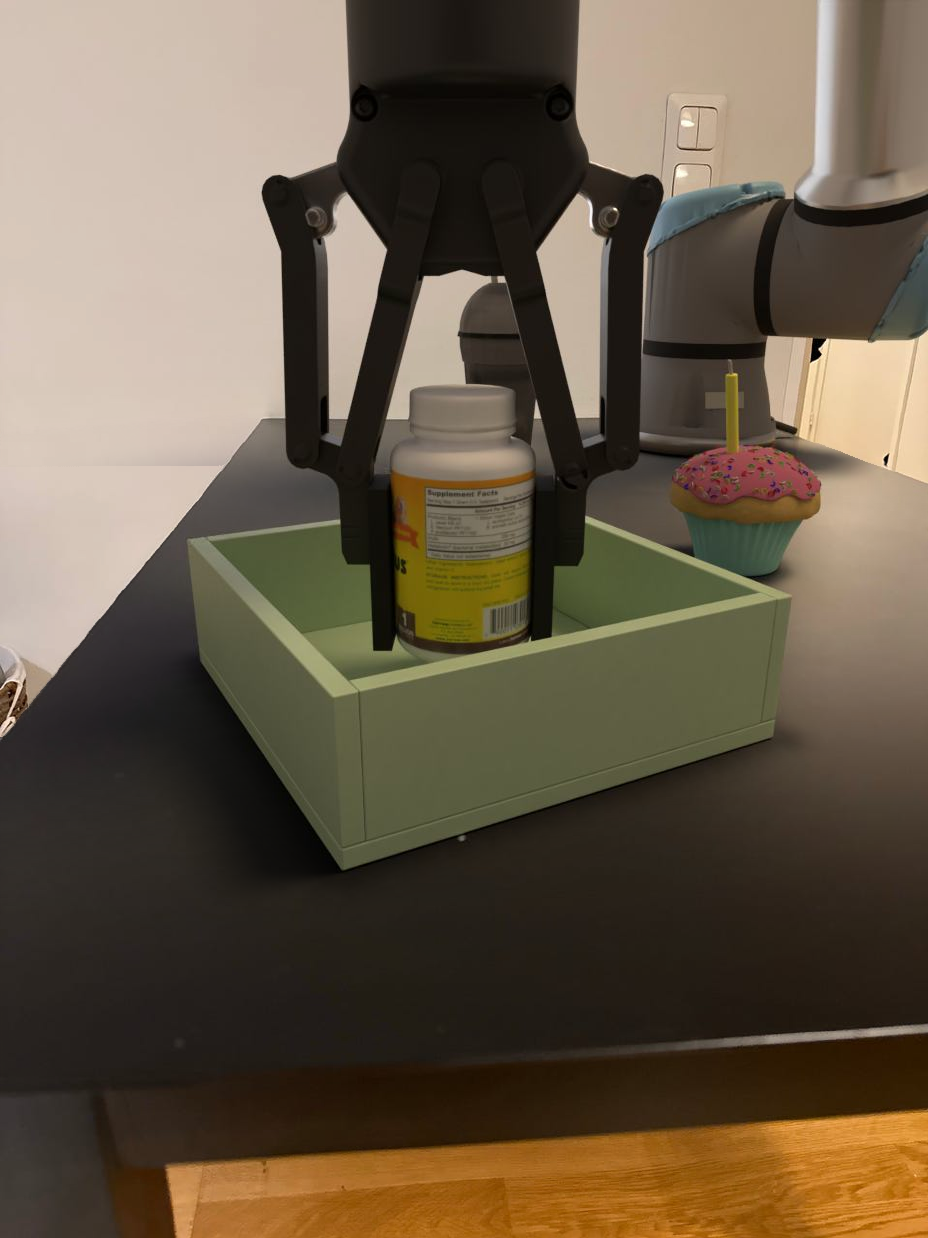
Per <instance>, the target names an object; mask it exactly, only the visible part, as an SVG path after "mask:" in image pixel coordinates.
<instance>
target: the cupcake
mask: <svg viewBox="0 0 928 1238" xmlns="http://www.w3.org/2000/svg"><path fill="white" fill-rule="evenodd" d="M728 368H729V374H727V375H726V376H725V380H726V437H727V447H725V448H721V447H719V446H716V447H715V449H714V450H710V451H707V452H701V453H699V454H698V455H694V456H690V457H688V460H687V461H685V462H682V463H681V465H680V466H679V467H678V468H677V469H675V470H674V472H673V475H672V477H671V484H670V489H669V502H670V504H671V505H672V506H674V507H675V508H676V509H677V511H679V512H680V513H682V515H683V516H684V519H685V522H686V525H687V528H688V532H689V536H690V540H691V546H692V549H693V555H694V558H696V559H699V560H701V561H704V562H707V563H709V564H712V565H714V566H717V567H720V568H722V569H725V570H727V571H730V572H732V573H735V574H738V575H740V576H743V577H758V576H765V575H768V574H772V573H773V572H775V571H776V570H777V569H778V568H779V566H780V564H781V561H782V558H783V556H784V554H785V552H786V550H787V548H788V546H789V544H790V542H791V540H792V539H793V537H794V535H795V533H796V531H798V528H799V527H800V525H801V524H802V523H803V521H805V520H809V519H811V518H813V517H814V516H815V515H817V514H818V513H819V512H820V510H821V505H822V499H821V489H822V481H821V480H819V479H818V475H817V474H816V471H814V470H813V469H809V468H808V467H807V466H806V465H805V464H804V463H803V462H801V461H800V460H799V459H797V457H796V456H795V455H792V454H790V453H788V452H787V451H786V452H784V451H781V450H780V449H779V448H776V447H775V446H774V447H771V448H770V447H766V448H763V447H761V446H755V447H752V446H751V445H744V444H743V445H741V446H739V442H738V375H737V374H735V373H733V370H732V361H731V360H728Z"/></svg>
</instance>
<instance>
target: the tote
mask: <svg viewBox="0 0 928 1238" xmlns="http://www.w3.org/2000/svg"><path fill="white" fill-rule="evenodd" d="M186 545H187V553H188V554H187V555H188V563H189V571H190V572H189V573H190V582H191V589H192V590H191V591H192V598H193V608H194V617H195V625H196V635H197V645H198V646H199V647H198V652H199V661H200V662H201V664H202V666H203V667H204V669H205V670H206V672H207V673H208V675H209V676H210V677H211V679H212V681H213V682H214V684H215V685H216V686H217V688H218V689H219V691H220V692H221V694H222V696H223V697H224V698H225V700H226V702H227V703H228V704H229V706H230V707H231V708H232V711H234V713H235V715H236V716H237V717H238V719H239V721H240V722H241V723H242V725H243V726H244V728H245V729H246V731H247V732H248V734H249V735H250V736H251V738H252V740H253V742H254V743H255V744H256V746H257V747H258V749H259V750H260V752H261V753H262V754H263V756H264V757H265V759H266V761H267V762H268V763H269V765H270V766H271V768H272V769H273V771H274V772H275V773H276V775H277V777H278V778H279V780H280V781H281V782H282V784H283V785H284V787H285V788H286V790H287V791H288V793H289V794H290V796H291V797H292V799H293V800H294V801H295V803H296V805H297V806H298V808H299V809H300V811H301V812H302V813H303V815H304V816H305V818H306V820H307V821H308V823H309V824H310V825H311V827H312V828H313V830H314V831H315V833H316V834H317V835H318V837H319V838H320V840H321V841H322V843H323V845H324V846H325V848H326V849H327V850H328V852H329V854H331V856H332V858H333V859H334V861H335V862H336V864H337V865H338V867H339V869H340V870H342V871H346V870H350V869H353V868H356V867H359V866H362V865H365V864H369V863H372V862H376V861H378V860H379V861H380V860H381V859H385V858H389V857H391V856H395V855H398V854H402V853H404V852H408V851H411V850H414V849H417V848H420V847H423V846H426V845H430V844H433V843H436V842H440V841H443V840H446V839H449V838H453V837H456V836H460V835H462V834H465V833H469V832H472V831H475V830H478V829H481V828H484V827H488V826H491V825H495V824H498V823H501V822H504V821H507V820H511V819H513V818H517V817H520V816H523V815H526V814H529V813H534V812H537V811H539V810H543V809H546V808H549V807H552V806H553V807H554V806H555V805H559V804H562V803H566V802H569V801H572V800H575V799H577V798H581V797H585V796H588V795H591V794H594V793H597V792H601V791H604V790H608V789H611V788H613V787H617V786H619V785H623V784H626V783H630V782H633V781H637V780H639V779H642V778H645V777H646V778H647V777H649V776H652V775H655V774H659V773H662V772H665V771H668V770H672V769H676V768H678V767H682V766H685V765H688V764H691V763H694V762H697V761H700V760H703V759H707V758H710V757H714V756H717V755H720V754H723V753H726V752H730V751H732V750H736V749H739V748H743V747H745V746H748V745H752V744H755V743H758V742H762V741H765V740H768V739H772V738H773V737H774V732H775V725H776V719H775V718H776V717H777V716H776V715H777V709H778V702H779V694H780V688H781V687H780V686H781V682H782V681H781V680H782V672H783V665H784V660H785V659H784V658H785V650H786V644H787V636H788V629H789V621H790V615H791V613H790V612H791V608H792V600H793V599H792V598H793V596H792V594H789V593H786V592H784V591H783V590H782V591H781V590H779V589H776V588H773V587H771V586H769V585H766V584H764V583H761V582H758V581H755V580H753V579H751V578H748V577H746V576H740V575H738V574H735V573H732V572H730V571H727V570H725V569H722V568H720V567H717V566H714V565H712V564H709V563H707V562H704V561H701V560H699V559H696V558H695V556H691V555H689V554H686V553H683V552H681V551H679V550H675V549H673V548H670V547H667V546H665V545H662V544H659V543H657V542H655V541H652V540H650V539H648V538H645V537H642V536H639V535H637V534H634V533H632V532H629V531H627V530H624V529H622V528H619V527H616V526H615V525H610V524H608V523H606V522H604V521H600V520H598V519H595V518H593V517H590V516H588V515H585V536H584V554H583V557H582V559H581V561H580V563H579V565H578V566H554V590H553V617H552V637H551V638H546V639H541V640H537V641H532V642H531V637H530V639H529V641H528V642H527V643H523V644H518V645H513V646H509V647H504V648H499V649H495V650H490V651H485V652H481V653H476V654H471V655H467V656H462V657H457V658H453V659H448V660H443V661H439V662H434V663H429V662H426V661H423V660H420V659H418V658H416V657H414V656H413V655H411V654H409V653H408V652H407V651H405V650H404V648H403V647H402V646H401V645H400V643H399V641H398V639H397V635H396V637H395V641H394V645H393V649H392V651H373V636H372V610H371V584H370V565H347V563H346V560H345V558H344V556H343V554H342V547H341V526H340V518H339V519H333V520H331V519H330V520H324V521H318V522H309V523H301V524H296V525H295V524H294V525H286V526H279V527H270V528H263V529H255V530H248V531H247V530H246V531H241V532H233V533H226V534H225V533H224V534H218V535H217V534H216V535H209V536H205V537H204V536H203V537H195V538H188V539H187V540H186Z"/></svg>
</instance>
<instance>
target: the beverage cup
mask: <svg viewBox="0 0 928 1238" xmlns="http://www.w3.org/2000/svg"><path fill="white" fill-rule="evenodd" d="M498 277H499V276H490V281H491V282H488V283H486V284H484V285H483V286H481V287H479V288H478V289H477V290H476V291H475V292H474V293H472V295H471V296H470V297H469V299H468V300H467V301H466V304H465V305H464V307H463V310H462V312H461V316H460V319H459V326H458V327H459V328H458V331H457V335H456V336H457V337H459V350H460V356H461V361H462V362H463V368H464V381H465V384H480V385H493V386H501V387H506V388H509V389H512V390H514V391H515V393H516V419H517V420H516V422H515V425H516V432H515V433H514V434H512V435H511V437H515V438H518V439H521V440H523V441H525V442H526V443H528V444H529V445H530V446H531V447H532V439H533V430H534V422H535V410H536V404H537V401H536V397H535V393H534V389H533V385H532V381H531V377H530V374H529V370H528V366H527V362H526V358H525V354H524V350H523V346H522V343H521V339H520V335H519V331H518V327H517V323H516V319H515V316H514V312H513V308H512V304H511V300H510V296H509V293H508V289H507V285H506V282H499V278H498Z"/></svg>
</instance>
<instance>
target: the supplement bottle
mask: <svg viewBox="0 0 928 1238" xmlns="http://www.w3.org/2000/svg"><path fill="white" fill-rule="evenodd" d="M408 407H409V408H408V411H409V412H408V418H407V421H408V422H409V432H410V433H411V434H412V435H413V436H410V437H406V438H405V439H402V440H400V441H399V442H398V443H396V444H395V446H394V447H393V448H392V450H391V451H390V456H389V474H390V480H391V511H392V538H393V570H394V603H395V626H396V635H397V639H398V641H399V643H400V645H401V646H402V647H403V648H404V650H405V651H407V652H408V653H409V654H411V655H413V656H414V657H416V658H418V659H420V660H423V661H426V662H429V663H434V662H439V661H443V660H448V659H453V658H457V657H462V656H467V655H471V654H476V653H481V652H485V651H490V650H495V649H499V648H504V647H509V646H513V645H518V644H523V643H527V642H528V641H529V639H530V635H531V619H532V586H533V551H534V510H535V477H536V475H537V474H536V471H537V470H536V467H537V457H536V453H535V450H534V449H533V447H532V445H531V446H530V445H529V444H528V443H526V442H525V441H523V440H521V439H518V438H515V437H511V435H512V434H514V433H515V432H516V425H515V422H516V420H517V419H516V393H515V391H514V390H512V389H509V388H506V387H501V386H493V385H480V384H466V383H449V384H447V383H445V384H432V385H424V386H418V387H415V388H412V389H411V390H410V391H409V406H408Z"/></svg>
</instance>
